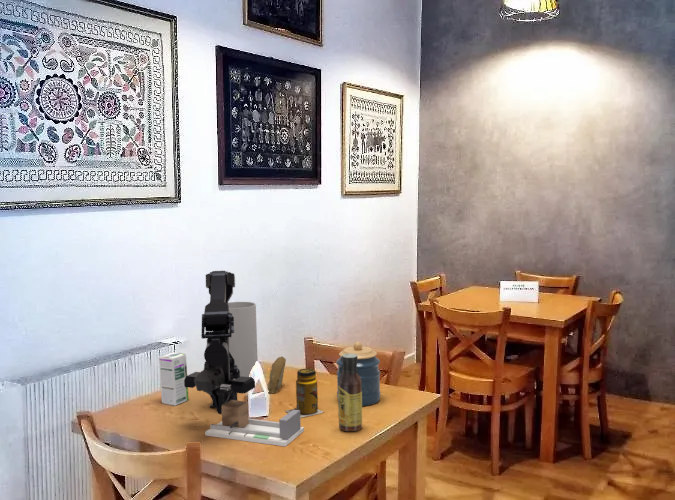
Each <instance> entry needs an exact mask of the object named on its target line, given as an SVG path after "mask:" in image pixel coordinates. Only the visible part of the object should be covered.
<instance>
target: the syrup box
mask: <svg viewBox="0 0 675 500" xmlns="http://www.w3.org/2000/svg"><path fill="white" fill-rule="evenodd" d="M158 359H159V360H158V361H159V363H158V364H159V375H160V376H159V377H160V379H159V380H160V390H161V391H160V392H161V393H160V394H161V404H165V405H169V406H174V407H175V406H177V405H180V404H182V403H185V402H188V401H189V387H184V379H185V377H186V376H188V366H187V363H188V362H187V354H186V353H183V352H171V353H167V354H165V355H161V356H159V357H158Z"/></svg>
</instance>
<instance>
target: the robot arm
mask: <svg viewBox="0 0 675 500" xmlns="http://www.w3.org/2000/svg"><path fill="white" fill-rule="evenodd" d="M235 287H236V276H235V273H233V272H231V271H228V270H227V271H226V270H212V271H210V272H209V273H206V274H205V288H206V289H208V294H209V296H210V297H209V298H210V300H209V303H207V304H206V305H205V306H204V311H203V312H204V313H202V314H201V335H200V336H201V337H200V338H201V339H202V340H203V339H206V347H205V350H204V352H203V357H204V360H205V361H204V364H203V369H202V370H201V371H194V372H192V373H190V374H187V376H186V377H185V379H184V387H188V389H189V388H190V389H193V388H196V391H198V392H203V393H206V394H207V395H209V397H210V399H211V401H212V403H211V404H209V407H210V408H215V409H216V413H217V414H218V415H222V405H224V404H225V403H227V402H229V401H230V400H237V401H238V394H243V395H244V394H247V393H248V392H250V391H252V390H253V389H255V388H256V381H255V379H253V378H252V377H242V376H241V377H240V370H239V369H238V367H237V365H235V360H234V358H233V356H232V355H231V353H230V352H229V337H232V333H234V317H233V316H232V313H229V305H228V303H229V302H230V300H231V298H232V296H233V295H234V288H235ZM233 379H235V380H233Z"/></svg>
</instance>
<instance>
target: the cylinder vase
mask: <svg viewBox="0 0 675 500" xmlns="http://www.w3.org/2000/svg"><path fill="white" fill-rule="evenodd" d="M228 305H229V313H232V316H233V317H234V333H232V337H229V352H230V353H231V355H232V356H233V358H234V360H235V365H237V367H238V369H239V370H240V377H241V376H242V377H249V374H250V371H251V369H252V367H253V366H254V365H255V362H256V361H258V337H257V336H258V334H257V329H258V327H257V305H256V303H255V302H251V301H228ZM233 380H235V379H233Z"/></svg>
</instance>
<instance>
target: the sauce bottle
mask: <svg viewBox="0 0 675 500" xmlns="http://www.w3.org/2000/svg"><path fill="white" fill-rule="evenodd" d="M357 360H358V359H357V355H356V354H352V353H348V354H344V355H342V361H343V371H342V374H341V377H340V380H339V383H338V388H337V391H338V397H337V400H338V403H337V405H338V406H337V407H338V411H337V412H338V427H339V429H340V430H342V431H343V432H357V431H360V430H361V429H362V426H363V406H362V389H361V378H360V376H359V375H358V373H357Z"/></svg>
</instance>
